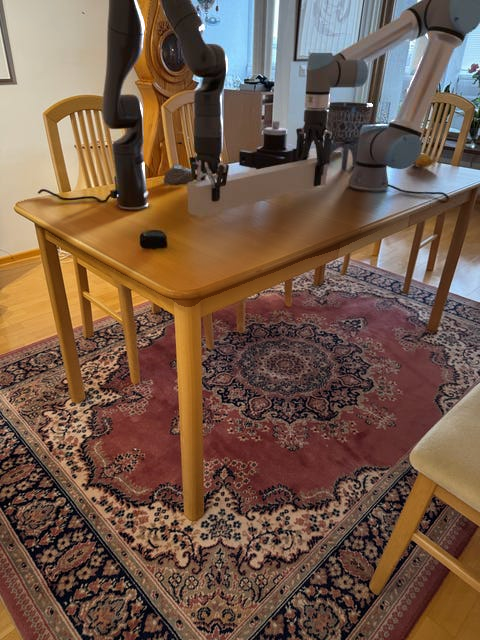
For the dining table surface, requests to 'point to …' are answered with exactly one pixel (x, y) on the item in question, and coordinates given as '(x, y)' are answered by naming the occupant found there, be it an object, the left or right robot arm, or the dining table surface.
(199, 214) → the bar
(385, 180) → the right robot arm
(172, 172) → the rock
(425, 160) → the toy
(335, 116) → the planter
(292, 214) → the dining table surface
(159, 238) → the tape measure
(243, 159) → the mechanical component
